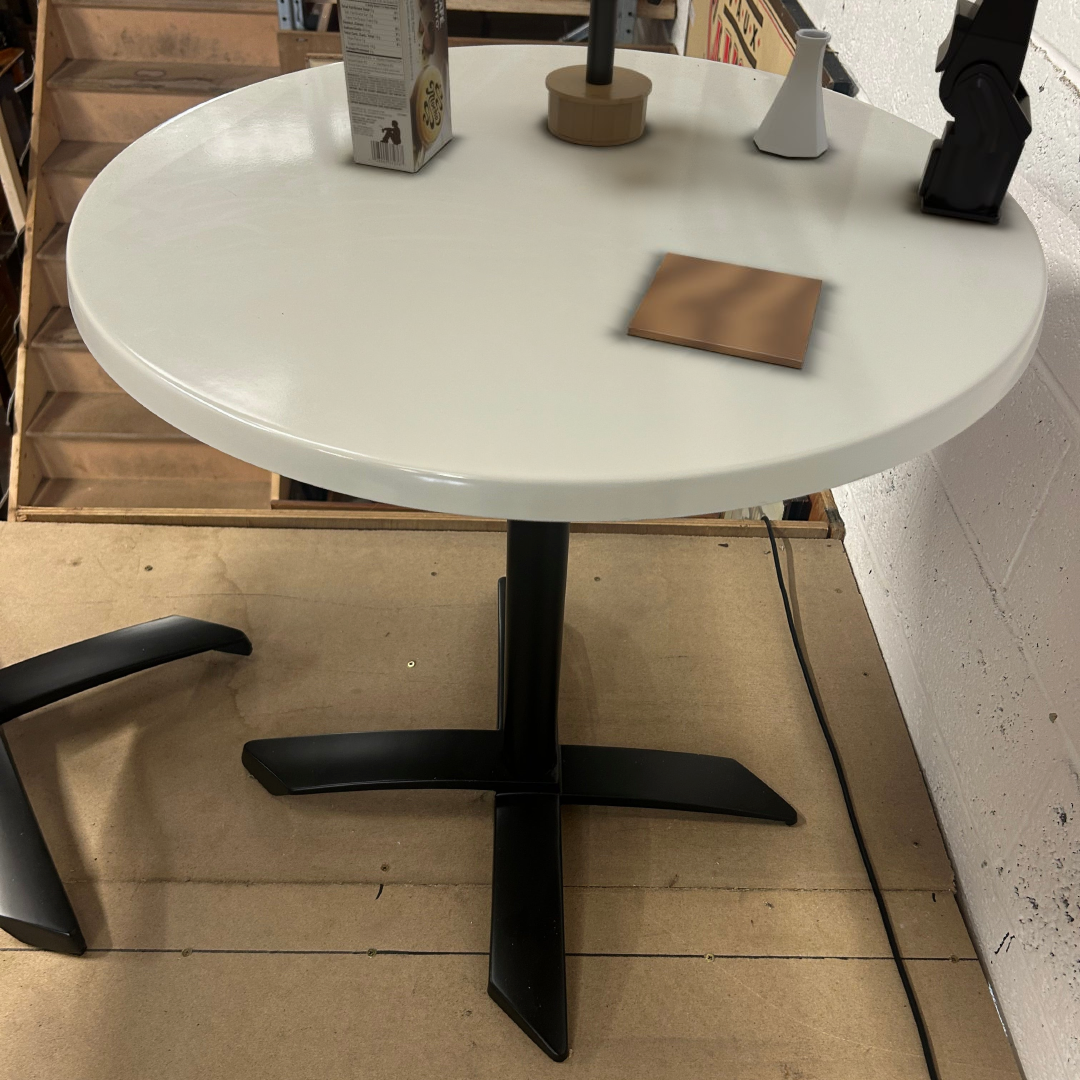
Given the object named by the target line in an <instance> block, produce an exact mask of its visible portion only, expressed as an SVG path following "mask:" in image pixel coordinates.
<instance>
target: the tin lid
mask: <svg viewBox="0 0 1080 1080" xmlns="http://www.w3.org/2000/svg"><path fill="white" fill-rule="evenodd" d="M619 2H620V1H619V0H590V1H589V13H588V14H589V15H588V18H589V19H588V32H587V48H586V49H587V50H586V64H573V65H567V66H563V67H559V68H556V69H554V70H552V71H550V72H549V73H548V74H547V75H546V77H545V81H544V82H545V83H544V85H545V88H546V90H547V91H548V92H551V93H552V94H554V95H556V96H558V97H560V98H563V99H566V100H569V101H574V102H578V103H585V104H594V105H618V104H626V103H632V102H636V101H639V100H642V99H644V98H646V97H647V96H648V97H649V96H650V95H651V94H652V91H653V82H652V79H650V78H649V77H648V76H647V75H645V74H643V73H641V72H639V71H636V70H634V69H632V68H631V69H630V68H627V67H622V66H616V65H614V64H615V53H616V39H617V29H618V28H617V27H618V14H619Z"/></svg>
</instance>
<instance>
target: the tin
mask: <svg viewBox="0 0 1080 1080" xmlns="http://www.w3.org/2000/svg"><path fill="white" fill-rule="evenodd" d="M547 95H548V96H547V128H548V131H549V132H550V133H551V134H552V135H553V136H555V137H557V138H558V139H560V140H563V141H565V142H569V143H573V144H577V145H583V146H591V147H611V146H619V145H625V144H629V143H631V142H634V141H636V140H638V139H639V138H640V137H642V136H643V133H644V129H645V127H646V120H647V119H646V118H647V109H648V108H647V107H648V100H649V96H647V97H646V98H644V99H642V100H639V101H636V102H632V103H626V104H618V105H594V104H585V103H578V102H574V101H569V100H566V99H563V98H560V97H558V96H556V95H554V94H552V93H551V92H549V91H548V93H547Z"/></svg>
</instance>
